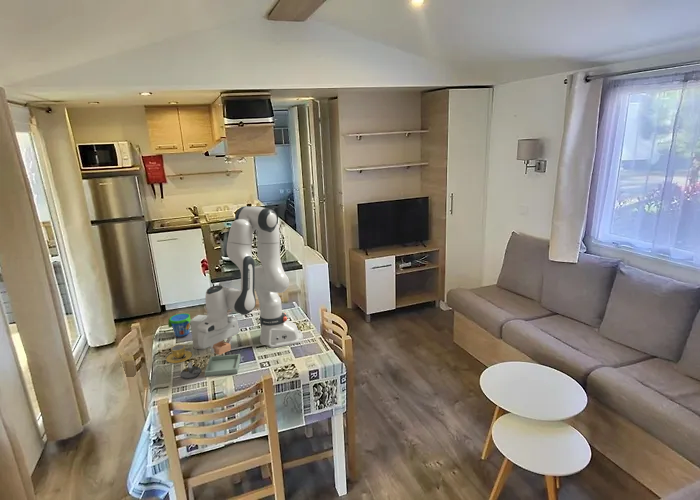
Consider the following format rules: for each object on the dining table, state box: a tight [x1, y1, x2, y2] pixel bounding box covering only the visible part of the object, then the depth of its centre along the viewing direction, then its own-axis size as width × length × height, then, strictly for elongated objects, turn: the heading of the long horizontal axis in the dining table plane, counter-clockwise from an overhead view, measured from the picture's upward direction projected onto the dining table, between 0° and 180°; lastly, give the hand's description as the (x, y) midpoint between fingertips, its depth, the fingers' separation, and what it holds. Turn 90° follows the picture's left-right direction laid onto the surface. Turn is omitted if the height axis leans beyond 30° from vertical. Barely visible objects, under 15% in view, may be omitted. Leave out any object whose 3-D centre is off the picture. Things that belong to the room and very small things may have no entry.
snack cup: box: [167, 312, 192, 338], centre depth 233 cm, size 16×11×10 cm
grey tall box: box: [190, 314, 207, 350], centre depth 218 cm, size 8×7×16 cm
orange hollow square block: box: [213, 340, 232, 356], centre depth 196 cm, size 6×6×3 cm
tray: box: [204, 353, 242, 378], centre depth 199 cm, size 14×14×2 cm
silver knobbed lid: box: [179, 361, 202, 380], centre depth 194 cm, size 9×9×5 cm
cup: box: [165, 343, 193, 364], centre depth 209 cm, size 12×12×5 cm
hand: (220, 349), depth 196 cm, fingers closed on orange hollow square block, 6 cm apart
